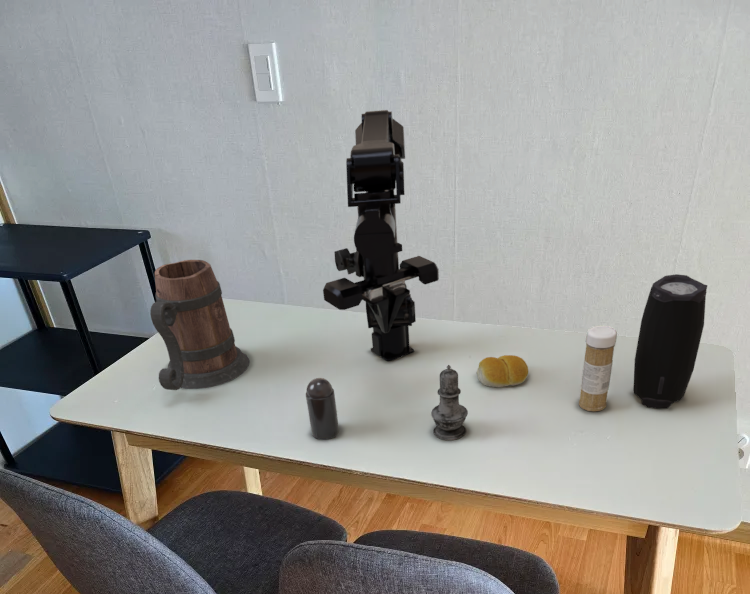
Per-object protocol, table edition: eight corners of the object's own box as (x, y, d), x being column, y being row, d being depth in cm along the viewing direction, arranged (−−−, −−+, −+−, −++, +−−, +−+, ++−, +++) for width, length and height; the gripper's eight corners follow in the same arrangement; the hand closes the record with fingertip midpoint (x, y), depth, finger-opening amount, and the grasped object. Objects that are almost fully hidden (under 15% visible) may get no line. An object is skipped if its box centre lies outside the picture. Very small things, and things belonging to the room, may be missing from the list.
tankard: (188, 346, 147) (163, 251, 135) (262, 350, 143) (243, 252, 131) (131, 403, 130) (96, 300, 117) (213, 409, 125) (186, 302, 113)
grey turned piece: (465, 442, 111) (466, 374, 103) (429, 440, 112) (426, 373, 105) (469, 422, 115) (469, 356, 108) (434, 420, 116) (432, 355, 109)
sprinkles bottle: (594, 396, 119) (603, 321, 110) (612, 407, 115) (624, 331, 107) (572, 403, 117) (580, 329, 109) (590, 415, 114) (600, 339, 106)
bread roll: (534, 384, 123) (535, 364, 121) (484, 391, 123) (485, 371, 120) (519, 363, 130) (520, 343, 127) (472, 370, 129) (472, 350, 127)
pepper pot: (330, 421, 119) (323, 369, 113) (344, 433, 116) (337, 380, 110) (307, 431, 117) (298, 378, 111) (320, 442, 114) (312, 389, 108)
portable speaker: (642, 379, 122) (662, 269, 110) (695, 395, 116) (723, 280, 104) (618, 400, 117) (637, 286, 105) (673, 417, 112) (699, 299, 100)
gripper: (400, 213, 116) (405, 302, 126) (301, 239, 109) (314, 332, 119) (439, 227, 109) (441, 322, 118) (335, 256, 102) (346, 354, 111)
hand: (385, 331), depth 117 cm, fingers closed
